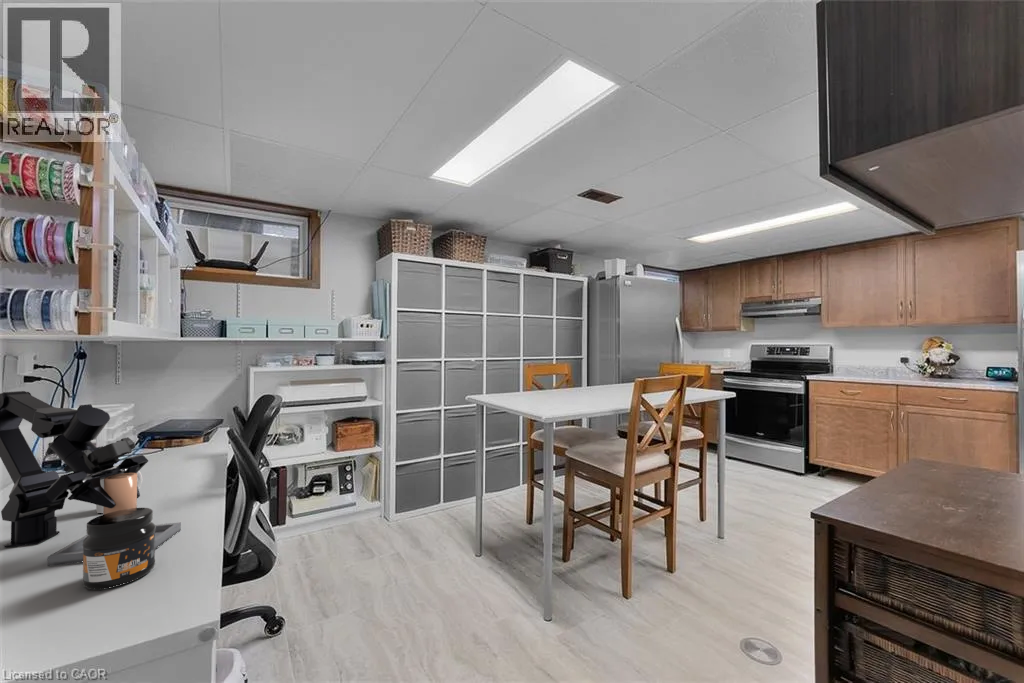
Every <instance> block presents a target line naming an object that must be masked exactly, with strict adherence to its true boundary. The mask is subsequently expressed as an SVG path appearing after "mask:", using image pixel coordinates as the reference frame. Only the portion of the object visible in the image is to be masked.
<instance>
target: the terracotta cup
mask: <svg viewBox="0 0 1024 683" xmlns="http://www.w3.org/2000/svg"><path fill="white" fill-rule="evenodd" d="M137 482H138V477H137V473H124V474H117V475H113V476H109V477H106V478H104V490H105V491H106V492H107V494H108V495H109V496H110V497H111V498H112V499H113V501H114V502H115V504H116V505H115V506H114V507H113V508H107V507H104V506H103V514H102V515H104V514H107V513H111V512H115V511H119V510H124V509H131V508H138V504H137V503H138V498H137Z"/></svg>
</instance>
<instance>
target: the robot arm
mask: <svg viewBox="0 0 1024 683" xmlns="http://www.w3.org/2000/svg"><path fill="white" fill-rule="evenodd" d="M110 419H111V417H110V414H109V412H107V411H105V410H103V409H101V408H97V407H94V406H93V405H92V404H80V405H79V406H78V407H77V409H73V408H68V407H54V406H53V405H51V404H49V403H47V402H45V401H43V400H41V399H40V398H37V397H35V396H33V395H32V393H31V392H30V391H25V390H19V391H3V392H1V393H0V459H1V461H2V463H3V465H4V467H5V469H6V471H7V473H8V475H9V476H10V479H11V481H12V483H13V487H12V489H11V491H10V493H9V494H8V499H9V500H8V501H7V502H6V504H5V505H4V507H3V508H2V509H1V511H0V513H1V519H2V521H6V522H10V525H11V526H10V542H9V543H6V544H4V545H3V546H4V548H12V547H13V548H14V547H21V546H23V547H24V546H33V545H38V544H41V543H43V542H45V541H47V540H49V539H51V538H52V537H55V536H56V535H59V534H61V533H60V532H61V531H60V530H57V529H58V528H57V527H58V526H57V525H58V524H57V522H58V520H57V519H58V518H57V516H55V514H56V513H55V512H56V511H58V510H63V509H64V505H65V501H66V499H67V500H68V501H72V500H75V501H81V502H85V503H90V504H94V505H95V506H96V505H100V506H104V507H107V508H113V507H114V506H115V505H116V504H115V502H114V501H113V499H112V498H111V497H110V496H109V495H108V494H107V492H106V491H105V490H104V489H103V488H102V487H101V484H100V480H102V479H104V478H106V477H109V476H113V475H117V474H124V473H137V472H138V471H140V470H142V468H143V467H144V466H145V465H147V463H148V462H149V460H148V459H147V457H145V456H144V454H137V455H133V456H129V457H126V458H124V459H123V460H122V461H121V460H120V459H119V458H121V457H123V456H125V455H128V454H132V453H133V450H134V449H135V448H136V445H135V442H134V441H133V440H132V439H131V438H130V437H123V438H120V439H119V440H116V442H111V443H108V444H106V445H103V446H98V447H97V446H96V445H95V444H94V443H93V442H92V441H93V440H95V439H97V438H98V436H99V435H100V433H101V432H102V430H103V429H104V428H105V427H106V425H107V424H108V423H109V421H110ZM23 420H25V421H27V422H28V423H30V424H31V429H30V431H31V432H32V433H34V434H35V435H36V436H37V437H38V438H40V439H46V438H52V437H55V438H54V440H53V441H52V442H49V443H48V447H47V449H46V455H47V456H51V455H55V454H56V456H58V457H59V459H60V460H61V461H62V462H63V463H64V464H65V465H66V466H65V467H64V468H63V471H64V472H65V473H66V474H63V475H60V476H59V473H58V472H57V471H56V470H50V471H44V470H43V469H42V467H41V466H40V464H39V462H38V460H37V458H36V456H35V454H34V452H33V451H32V449H31V447H30V445H29V443H28V442H27V439H26V438H25V436H24V434H23V432H22V430H21V429H20V425H21V423H22V421H23ZM119 461H121V462H120V464H118V462H119ZM115 464H118V465H119V466H117V467H114V466H115ZM71 471H72V472H71ZM68 472H69V473H68ZM68 490H69V491H70V492H69V491H68ZM69 493H70V495H69ZM68 496H69V497H68ZM139 497H141V494H140V489H139V490H138V486H137V499H139Z"/></svg>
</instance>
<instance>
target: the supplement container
mask: <svg viewBox="0 0 1024 683" xmlns="http://www.w3.org/2000/svg"><path fill="white" fill-rule="evenodd" d="M153 512H154V511H153V509H151V508H150V507H137V508H131V509H124V510H119V511H115V512H111V513H107V514H104V515H103V514H100V515H99V516H96V517H94V518H92V519H90V520H89V521H88V522H87V523H86V535H87V534H88V536H87V537H86V538H85V539H84V541H83V544H82V546H83V562H82V579H81V581H82V582H81V583H82V586H83V587H84V588H86V589H88V590H93V589H101V590H105V589H104V588H108V589H110V588H109V587H113V586H116V585H120V584H123V583H127V582H130V581H132V580H135V579H137V578H139V579H141V578H143V577H144V576H146V575H147V574H148V573H150V571H152V570H153V569H154V566H155V564H156V559H155V555H156V550H155V530H156V526H155V525H156V524H155V523H154V522H152V521H153V519H154V518H153V516H154V515H153V514H154V513H153ZM145 574H146V575H145ZM142 576H143V577H142ZM140 577H141V578H140ZM137 580H138V579H137ZM135 581H136V580H135ZM132 582H133V581H132ZM130 583H131V582H130ZM127 584H128V583H127ZM113 588H114V587H113Z"/></svg>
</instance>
